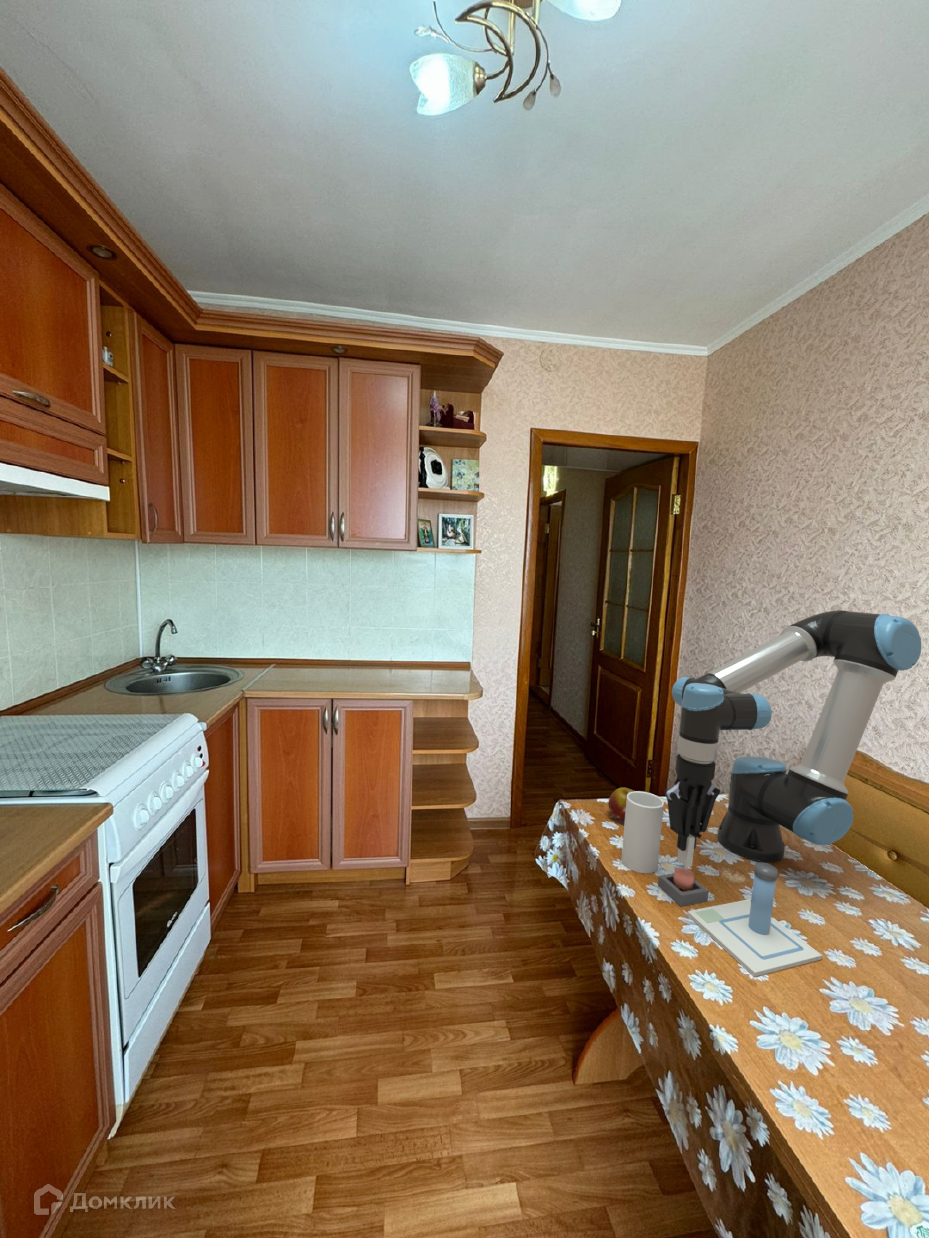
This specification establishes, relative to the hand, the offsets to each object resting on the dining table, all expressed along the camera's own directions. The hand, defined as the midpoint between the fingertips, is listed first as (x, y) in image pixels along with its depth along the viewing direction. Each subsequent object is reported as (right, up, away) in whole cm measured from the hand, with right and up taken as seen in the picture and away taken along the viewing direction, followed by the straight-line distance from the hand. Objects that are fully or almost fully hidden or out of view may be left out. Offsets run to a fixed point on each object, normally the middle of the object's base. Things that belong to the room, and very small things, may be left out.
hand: (684, 862), depth 108 cm
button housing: (0, -7, +1) cm, 7 cm away
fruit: (-2, -4, +34) cm, 34 cm away
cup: (-6, -6, +12) cm, 14 cm away
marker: (+10, -8, -10) cm, 16 cm away
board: (+8, -9, -11) cm, 16 cm away
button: (0, -5, +1) cm, 5 cm away
